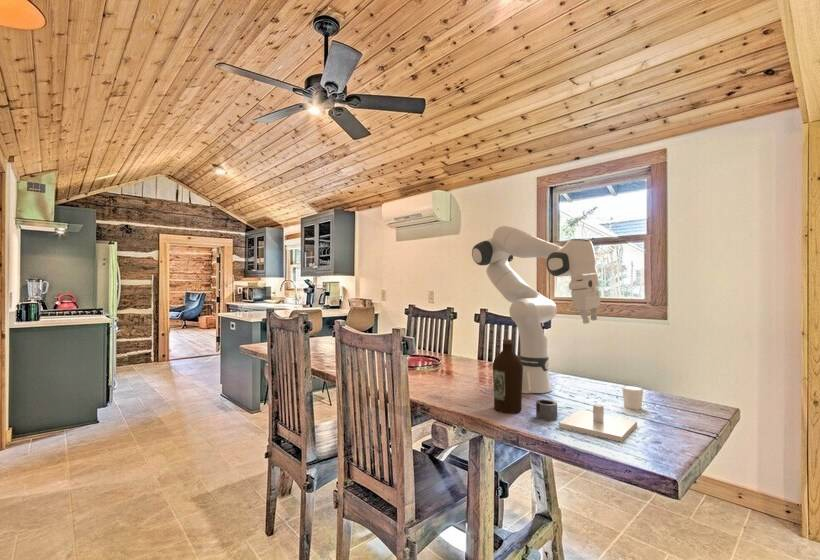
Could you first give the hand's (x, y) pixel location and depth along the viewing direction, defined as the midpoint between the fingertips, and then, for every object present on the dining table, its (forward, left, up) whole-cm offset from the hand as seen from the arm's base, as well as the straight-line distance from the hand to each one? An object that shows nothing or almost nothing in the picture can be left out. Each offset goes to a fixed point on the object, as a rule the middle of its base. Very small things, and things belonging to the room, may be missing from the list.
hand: (590, 321), depth 145 cm
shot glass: (+10, +16, -32) cm, 37 cm away
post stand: (+7, -14, -32) cm, 35 cm away
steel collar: (-9, -16, -32) cm, 37 cm away
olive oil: (-23, -17, -32) cm, 43 cm away
